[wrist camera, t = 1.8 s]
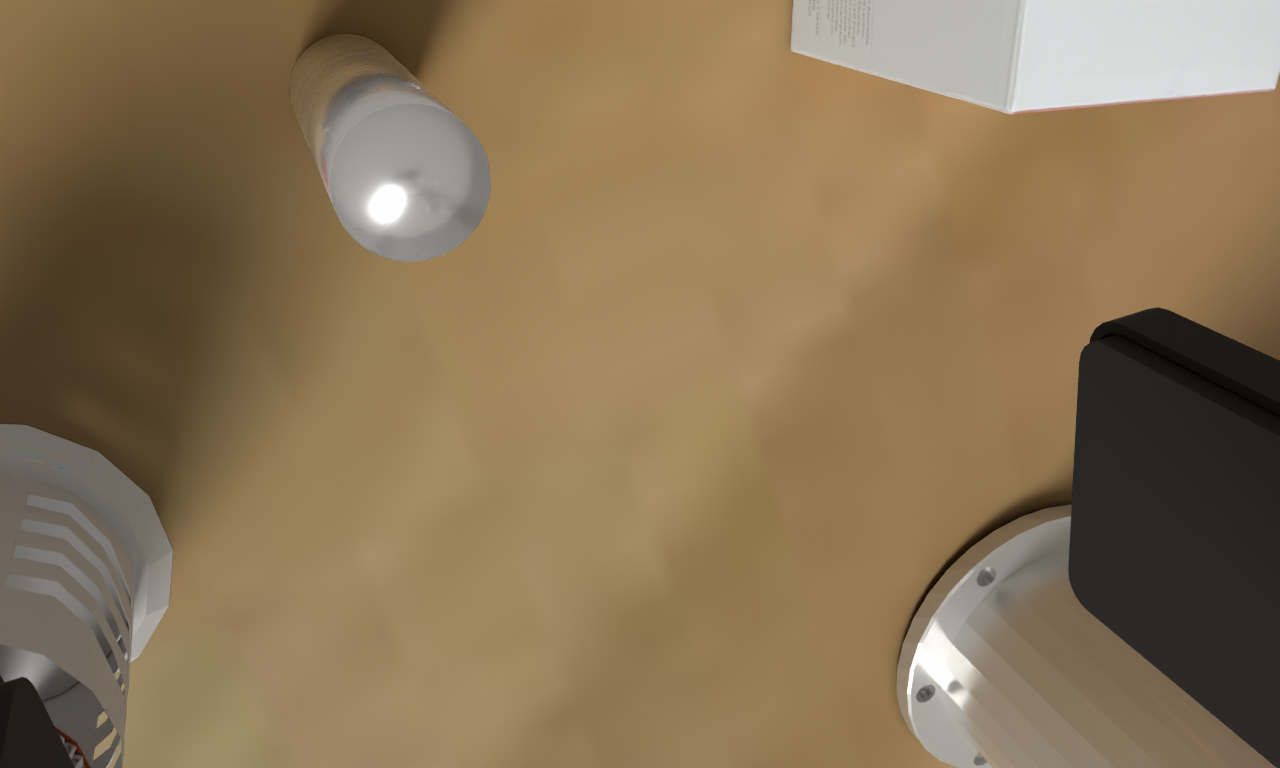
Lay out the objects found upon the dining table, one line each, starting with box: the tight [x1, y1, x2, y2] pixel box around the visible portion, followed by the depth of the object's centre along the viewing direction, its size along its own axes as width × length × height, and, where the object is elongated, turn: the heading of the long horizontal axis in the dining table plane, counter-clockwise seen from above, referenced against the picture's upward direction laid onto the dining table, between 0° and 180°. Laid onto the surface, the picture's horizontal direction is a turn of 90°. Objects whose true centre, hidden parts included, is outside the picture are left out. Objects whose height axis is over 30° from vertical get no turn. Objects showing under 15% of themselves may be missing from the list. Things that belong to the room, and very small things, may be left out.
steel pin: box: [289, 34, 491, 261], centre depth 26 cm, size 3×3×10 cm
